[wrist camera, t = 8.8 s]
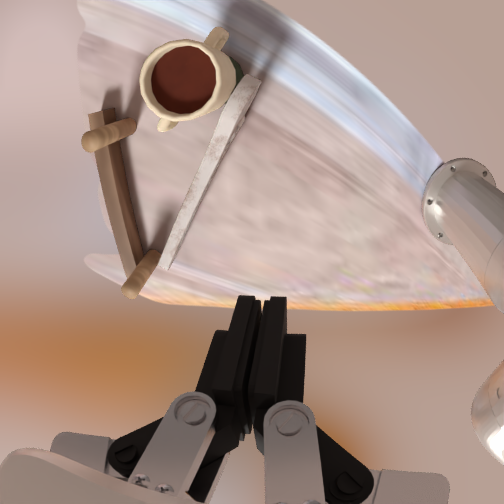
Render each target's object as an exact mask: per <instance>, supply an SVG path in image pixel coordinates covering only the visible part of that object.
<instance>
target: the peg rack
mask: <svg viewBox="0 0 504 504" xmlns="http://www.w3.org/2000/svg"><path fill="white" fill-rule="evenodd" d="M88 116H89V123H90V129H91V131H88V132H86V133H85V134H84V135H83V136H82V146H83V148H84V149H85V151H87V152H90V153H91V152H95V157H96V163H97V167H98V172H99V177H100V182H101V186H102V190H103V195H104V199H105V203H106V207H107V211H108V215H109V219H110V223H111V226H112V230H113V234H114V237H115V240H116V244H117V248H118V251H119V254H120V258H121V261H122V264H123V267H124V270H125V274H126V277H127V280H126V282H125V283H124V285H123V286H122V288H121V290H122V293H123V294H124V295H125V296H126V297H127V298H130V299H134V298H136V297H137V295H138V294H139V292H140V291H141V289H142V288H143V286H144V285H145V283H146V281H147V280H148V278H149V277H150V275H151V274H152V272H153V271H154V269H155V268H156V266H157V265H158V263H159V261H160V258H161V255H160V253H159V252H158V251H156V250H154V249H151V250H149V251H148V252H147V253H146V255H145V256H144V253H143V249H142V246H141V242H140V238H139V234H138V230H137V225H136V221H135V217H134V212H133V208H132V204H131V199H130V194H129V189H128V184H127V179H126V174H125V169H124V164H123V158H122V152H121V147H120V139H123V138H125V137H127V136H130V135H132V134H133V133H134V132H135V131H136V123H135V121H134V120H133V119H131V118H126V119H123V120H120V121H116V114H115V108H111V109H107V110H103V111H99V112H95V113H92V114H88Z"/></svg>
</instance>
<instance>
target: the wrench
mask: <svg viewBox="0 0 504 504" xmlns="http://www.w3.org/2000/svg"><path fill="white" fill-rule="evenodd" d="M261 82H262V81H260V80H258V79H256V78H254V77H252V76H250V75H248V74H246V75H245V76H244V77H243V78H242V79H241V81H240V82H239V83H238V85H237V86H236V88H235V89H234V91H233V93H232V94H231V96H230V98H229V99H228V101H227V103H226V105H225V107H224V109H223V111H222V113H221V116H220V118H219V121H218V123H217V126H216V129H215V131H214V134H213V137H212V139H211V141H210V144H209V146H208V149H207V151H206V154H205V156H204V158H203V161H202V163H201V165H200V167H199V169H198V171H197V173H196V176H195V178H194V180H193V182H192V184H191V187H190V189H189V191H188V193H187V196H186V198H185V200H184V202H183V205H182V207H181V209H180V212H179V214H178V216H177V219H176V221H175V224H174V226H173V228H172V231H171V233H170V236H169V238H168V241H167V243H166V245H165V248H164V250H163V253H162V256H161V258H160V261H159V263H158V266H160V267H162V268H164V269H166V270H169V268H170V266H171V264H172V263H173V261H174V259H175V256H176V254H177V252H178V250H179V248H180V245H181V243H182V241H183V239H184V236H185V234H186V232H187V230H188V228H189V226H190V223H191V221H192V219H193V217H194V215H195V213H196V211H197V209H198V207H199V204H200V202H201V200H202V198H203V196H204V194H205V192H206V190H207V188H208V186H209V184H210V182H211V180H212V178H213V176H214V174H215V172H216V170H217V168H218V166H219V164H220V162H221V160H222V158H223V156H224V154H225V153H226V151H227V149H228V147H229V146H230V144H231V142H232V140H233V139H234V137H235V135H236V134H237V132H238V130H239V129H240V127H241V126H242V124H243V122H244V121H245V116H244V115H245V114H246V112H247V110H248V108H249V106H250V105H251V103H252V101H253V99H254V97H255V95H256V93H257V91H258V89H259V86H260V84H261Z"/></svg>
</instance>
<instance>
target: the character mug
mask: <svg viewBox="0 0 504 504" xmlns="http://www.w3.org/2000/svg"><path fill="white" fill-rule="evenodd" d="M228 38H229V33H228V32H227V31H226V30H225V29H223V28H222V27H215V28H214V29H213V30H212V31H211V32H210V34H209V35H208V37H207V38H206V40H205V41H204V43H202V42H198V41H194V40H189V39H183V40H176V41H170V42H167V43H165V44H164V45H162V46H160V47H158V48H156V49H155V50H154V51H153V52H152V53H151V54H150V55H149V56H148V57H147V59H146V60H145V62H144V64H143V66H142V69H141V73H140V79H139V82H140V90H141V95H142V97H143V99H144V101H145V103H146V104H147V106H148V108H150V109H151V110H152V111H153V112H154V113H155V114H156V115H157V116H158V117H161V118H160V120H159V123H158V126H157V129H158V131H159V132H166V131H168V130H170V129H172V128H174V127H175V126H176V125H177V123H178V121H186V120H193V119H195V118H198V117H200V116H203V115H205V114H208V113H210V112H212V111H214V110H216V109H219V108H221V107H222V106H223V105H224V104H226V103H227V101H228V99H229V98H230V96H231V94H232V93H233V91H234V89H235V88H236V86H237V85H238V83H239V82H240V81H241V79H242V78H243V77H244V75H243V73H242V70H241V68H240V65H239V64H238V63H237V62H236V61H234V60H233V59H232V58H231V57H228V56H227V55H225V54H224V53H223V52H222V51H221V49H222V48H223V46H224V45H225V43H226V42H227V40H228Z"/></svg>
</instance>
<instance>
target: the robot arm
mask: <svg viewBox="0 0 504 504" xmlns="http://www.w3.org/2000/svg"><path fill="white" fill-rule="evenodd" d="M451 166H452V167H451ZM428 199H429V200H428ZM422 214H423V219H424V222H425V224H426V226H427V228H428V230H429V231H430V232H431V234H432V235H433V236H434V237H435V238H436V239H437V240H439V241H441V242H442V243H445V244H449V245H454V246H455V248H456V249H457V250H458V252H459V253H460V254H461V256H462V257H463V259H464V260H465V261H466V263H467V264H468V266H469V267H470V269H471V270H472V272H473V273H474V275H475V276H476V278H477V279H478V281H479V282H480V284H481V285H482V287H483V288H484V290H485V291H486V293H487V295H488V296H489V297H490V299H491V301H492V302H493V304H494V305H495V306H496V307H497V308H498V309H499V310H500V311H501V312H502V313H504V193H503V192H501V191H500V190H499V189H497V188H496V183H495V181H494V178H493V176H492V175H491V173H490V172H489V170H488V169H487V168H486V167H485V166H484V165H482V164H481V163H479V162H477V161H475V160H473V159H469V158H457V159H454V160H451V161H449V162H447V163H445V164H443V165H442V166H441V167H440V168H439V169H437V170H436V172H435V173H434V174H433V175H432V176H431V178H430V180H429V182H428V183H427V186H426V188H425V191H424V194H423V199H422ZM305 353H306V334H287V298H286V297H274V296H271V298H270V300H265V301H264V306H263V311H261V301H260V300H255V296H244V295H239V296H238V299H237V303H236V306H235V310H234V313H233V316H232V320H231V323H230V327H229V330H228V331H225V330H216V331H215V334H214V336H213V339H212V342H211V345H210V348H209V351H208V354H207V357H206V360H205V363H204V366H203V369H202V373H201V375H200V378H199V381H198V384H197V387H196V390H195V392H187V393H184V394H182V395H180V396H179V397H177V398H176V399H175V400H174V401H173V402H172V403H171V405H170V407H169V409H168V410H167V412H166V414H165V416H164V417H162V418H160V419H159V420H157V421H154V422H152V423H150V424H148V425H146V426H144V427H142V428H140V429H137V430H136V431H133V432H131V433H129V434H127V435H125V436H123V437H120V438H118V439H117V440H114V439H111V438H110V437H102V436H94V435H86V434H79V433H72V432H62V433H60V434H58V435H57V436H56V437H55V438H54V440H53V442H52V445H51V449H50V451H46V450H42V449H36V448H23V449H17V450H15V451H13V452H11V453H10V454H9V455H8V456H7V457H6V458H5V459H4V461H3V462H2V464H1V465H0V504H209V502H210V500H211V498H212V495H213V493H214V491H215V488H216V486H217V484H218V482H219V479H220V477H221V475H222V472H223V470H224V467H225V465H226V463H227V460H228V458H229V455H230V451H231V450H233V449H235V448H236V447H238V445H239V440H240V441H244V438H245V434H250V433H251V430H252V425H253V428H254V434H255V439H256V445H257V449H258V450H259V451H260V452H261V453H262V454H263V455H264V465H265V504H448V498H449V492H450V486H449V482H448V480H447V479H446V478H445V477H444V476H443V475H441V474H437V473H422V472H406V471H395V470H385V469H382V470H381V471H378V470H369V469H368V468H366V466H364V465H363V464H362V463H361V462H359V461H358V460H357V459H356V458H354V457H353V456H352V455H351V454H350V453H348V452H347V451H346V450H345V449H344V448H342V447H341V446H340V445H339V444H338V443H336V442H335V441H334V440H333V439H332V438H330V437H329V436H328V435H327V434H326V433H325V432H324V431H322V430H321V429H320V428H319V427H318V426H317V425H316V423H315V417H314V414H313V412H312V411H311V409H310V408H309V407H308V406H306V405H305V404H303V395H304V377H305ZM471 419H472V424H473V428H474V430H475V433H476V435H477V437H478V439H479V441H480V442H481V444H482V445H483V446H484V448H486V450H487V451H488V452H489V453H490V454H491V455H492V456H493V457H494V458H495V459H496V460H498V461H499V462H500V463H501V464H503V465H504V360H503V361H502V362H501V364H499V366H498V367H497V368H496V369H495V370H494V372H493V373H492V374H491V375H490V376H489V377H488V378H487V380H486V381H485V382H484V383H483V384H482V386H481V387H480V388H479V390H478V392H477V393H476V395H475V398H474V400H473V403H472V408H471Z"/></svg>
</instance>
